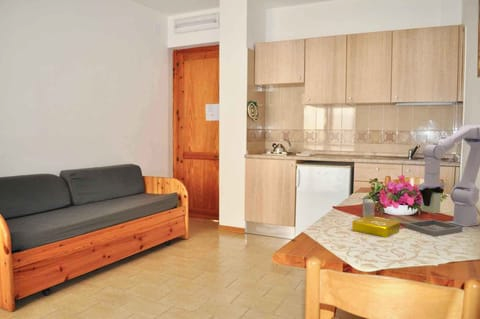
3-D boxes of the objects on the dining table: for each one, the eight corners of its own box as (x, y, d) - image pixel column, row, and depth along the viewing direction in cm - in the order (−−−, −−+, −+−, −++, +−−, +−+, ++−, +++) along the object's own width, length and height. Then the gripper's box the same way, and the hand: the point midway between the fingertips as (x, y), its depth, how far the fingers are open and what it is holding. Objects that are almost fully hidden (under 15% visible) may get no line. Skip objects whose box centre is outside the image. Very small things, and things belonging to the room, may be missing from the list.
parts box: (427, 209, 167) (428, 191, 166) (439, 212, 161) (440, 193, 161) (420, 210, 165) (421, 191, 164) (433, 213, 160) (434, 194, 159)
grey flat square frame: (432, 223, 172) (432, 219, 172) (462, 231, 160) (462, 226, 159) (404, 227, 165) (405, 223, 165) (433, 236, 152) (433, 231, 152)
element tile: (400, 231, 161) (401, 220, 160) (386, 239, 150) (386, 226, 149) (366, 224, 171) (366, 214, 171) (350, 231, 160) (350, 220, 160)
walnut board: (404, 216, 184) (404, 214, 184) (426, 222, 173) (426, 220, 173) (382, 219, 178) (382, 217, 178) (403, 226, 167) (403, 223, 167)
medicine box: (374, 221, 175) (374, 202, 175) (363, 220, 176) (364, 202, 175) (371, 217, 183) (372, 199, 182) (362, 216, 184) (362, 198, 183)
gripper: (435, 171, 168) (433, 202, 170) (411, 173, 162) (410, 205, 163) (450, 173, 162) (448, 205, 163) (426, 175, 156) (424, 208, 157)
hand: (430, 205), depth 163 cm, fingers closed on parts box, 4 cm apart
